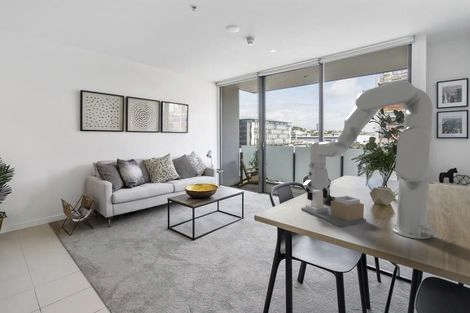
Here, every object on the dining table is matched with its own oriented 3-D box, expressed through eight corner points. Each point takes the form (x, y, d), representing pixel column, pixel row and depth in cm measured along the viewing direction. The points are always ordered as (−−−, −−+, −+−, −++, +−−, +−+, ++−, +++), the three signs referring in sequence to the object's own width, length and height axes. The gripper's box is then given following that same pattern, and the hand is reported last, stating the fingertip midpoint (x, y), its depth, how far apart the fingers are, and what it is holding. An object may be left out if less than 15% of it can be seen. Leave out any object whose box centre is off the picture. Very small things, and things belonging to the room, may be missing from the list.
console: (366, 221, 108) (367, 200, 108) (340, 227, 102) (340, 204, 101) (324, 206, 132) (324, 189, 131) (301, 210, 126) (301, 191, 125)
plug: (322, 210, 121) (323, 191, 120) (316, 211, 120) (316, 192, 119) (315, 208, 126) (316, 189, 125) (309, 208, 124) (310, 190, 123)
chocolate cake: (348, 211, 125) (342, 192, 133) (337, 208, 124) (332, 189, 132) (336, 219, 132) (332, 200, 140) (326, 216, 131) (321, 197, 138)
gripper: (309, 167, 114) (308, 202, 115) (336, 165, 120) (335, 198, 122) (299, 166, 120) (299, 199, 122) (325, 164, 127) (324, 195, 128)
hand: (317, 198), depth 122 cm, fingers open, 9 cm apart
